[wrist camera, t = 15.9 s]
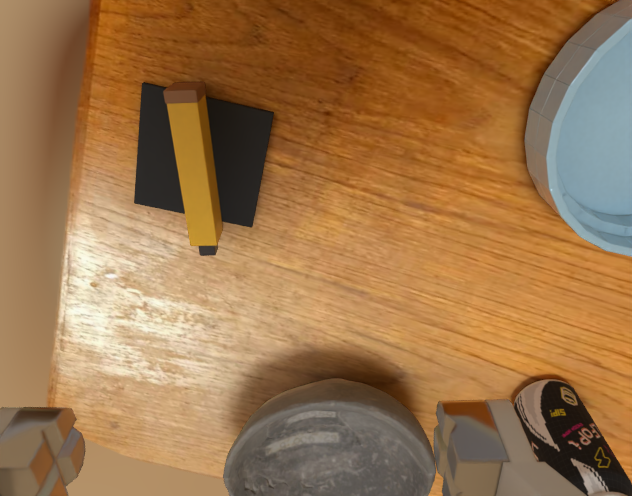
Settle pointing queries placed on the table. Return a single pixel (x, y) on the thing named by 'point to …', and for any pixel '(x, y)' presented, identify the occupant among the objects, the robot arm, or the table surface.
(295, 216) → the table surface
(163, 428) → the table surface
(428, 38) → the table surface
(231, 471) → the bowl
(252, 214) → the mat
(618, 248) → the blue bowl
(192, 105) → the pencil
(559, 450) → the beverage can
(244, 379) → the table surface
